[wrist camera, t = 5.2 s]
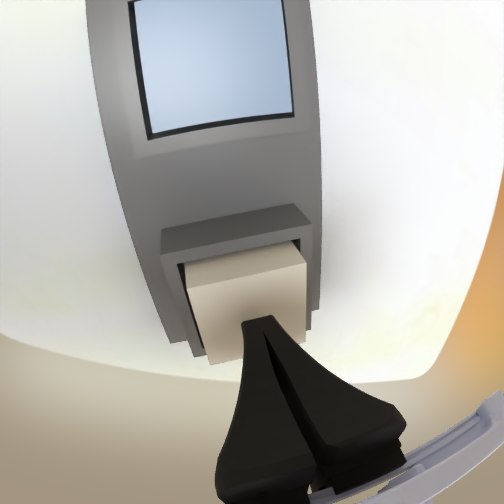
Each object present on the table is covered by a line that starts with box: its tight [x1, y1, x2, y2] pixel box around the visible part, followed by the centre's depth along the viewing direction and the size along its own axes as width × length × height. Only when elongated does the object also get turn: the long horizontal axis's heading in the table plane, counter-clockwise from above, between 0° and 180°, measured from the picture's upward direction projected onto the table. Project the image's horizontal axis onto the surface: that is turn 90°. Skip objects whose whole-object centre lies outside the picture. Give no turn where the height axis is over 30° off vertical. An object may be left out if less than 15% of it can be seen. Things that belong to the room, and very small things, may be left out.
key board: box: [85, 0, 322, 357], centre depth 14 cm, size 10×20×4 cm, turn 6°
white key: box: [184, 240, 307, 365], centre depth 15 cm, size 5×5×2 cm
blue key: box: [134, 0, 292, 133], centre depth 10 cm, size 5×5×2 cm
